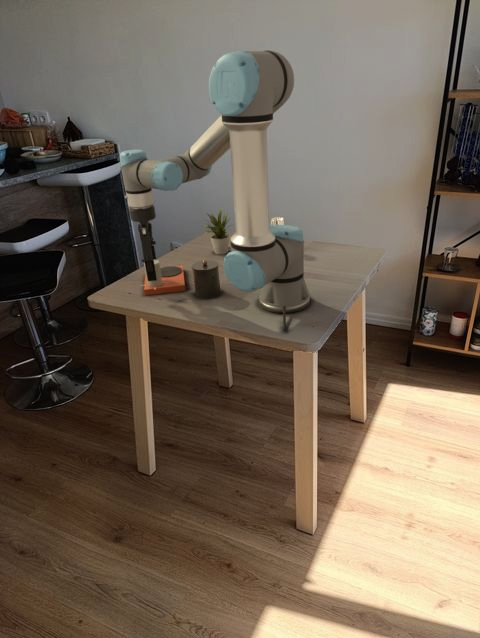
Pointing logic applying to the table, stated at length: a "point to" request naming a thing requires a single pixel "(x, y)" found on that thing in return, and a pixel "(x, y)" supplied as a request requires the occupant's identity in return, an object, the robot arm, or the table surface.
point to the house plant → (219, 233)
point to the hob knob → (158, 275)
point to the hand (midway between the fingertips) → (152, 272)
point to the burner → (170, 271)
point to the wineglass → (277, 221)
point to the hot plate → (167, 284)
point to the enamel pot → (206, 279)
